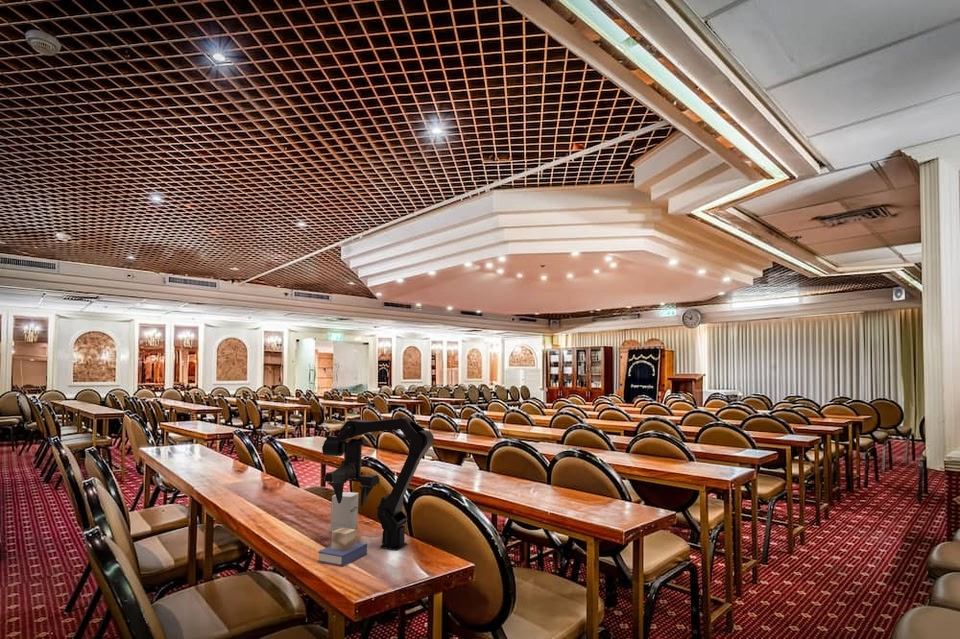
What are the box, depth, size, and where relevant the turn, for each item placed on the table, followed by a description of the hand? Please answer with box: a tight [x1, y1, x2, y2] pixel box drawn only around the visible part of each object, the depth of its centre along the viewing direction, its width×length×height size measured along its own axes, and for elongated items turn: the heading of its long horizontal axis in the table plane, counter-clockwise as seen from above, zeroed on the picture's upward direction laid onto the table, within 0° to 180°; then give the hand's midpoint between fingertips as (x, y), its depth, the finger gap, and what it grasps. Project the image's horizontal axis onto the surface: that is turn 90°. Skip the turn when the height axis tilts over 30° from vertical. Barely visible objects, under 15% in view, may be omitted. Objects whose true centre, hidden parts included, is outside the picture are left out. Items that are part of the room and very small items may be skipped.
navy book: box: [317, 541, 368, 567], centre depth 156 cm, size 9×12×3 cm
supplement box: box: [329, 491, 360, 533], centre depth 186 cm, size 7×7×13 cm
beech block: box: [330, 528, 357, 551], centre depth 157 cm, size 5×5×5 cm
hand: (350, 504), depth 173 cm, fingers open, 9 cm apart
